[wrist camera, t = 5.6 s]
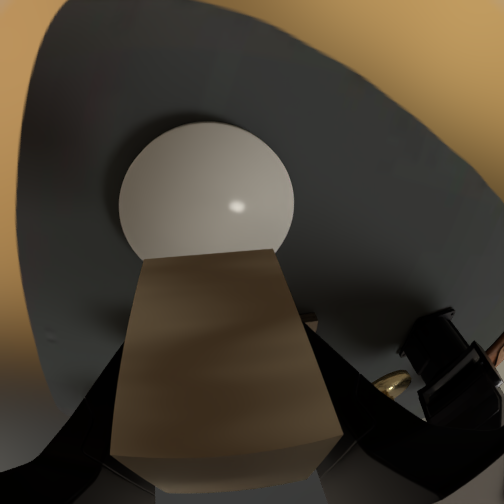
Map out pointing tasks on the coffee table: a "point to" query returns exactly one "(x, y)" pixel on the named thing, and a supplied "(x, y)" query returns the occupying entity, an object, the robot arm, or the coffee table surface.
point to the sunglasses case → (497, 351)
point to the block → (219, 378)
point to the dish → (205, 193)
